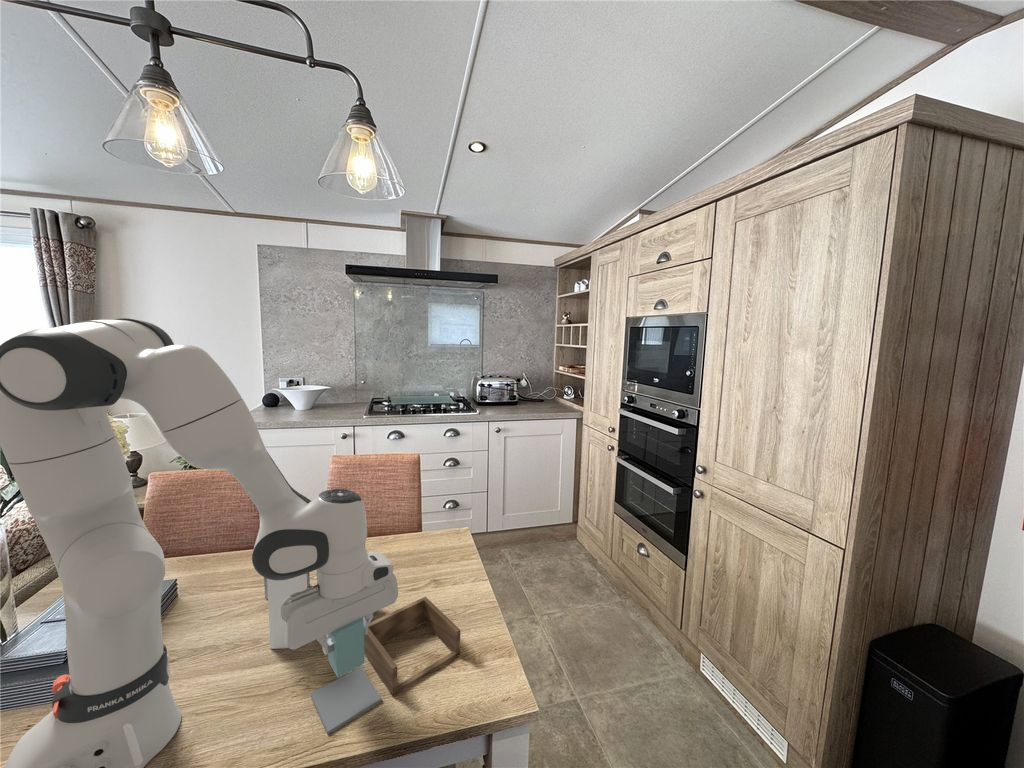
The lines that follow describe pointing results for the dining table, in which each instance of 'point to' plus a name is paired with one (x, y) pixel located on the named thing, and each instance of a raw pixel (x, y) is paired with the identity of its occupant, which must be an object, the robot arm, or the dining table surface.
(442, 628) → the crate
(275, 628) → the milk
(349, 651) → the block
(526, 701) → the dining table surface
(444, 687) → the dining table surface
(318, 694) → the mat
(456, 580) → the dining table surface
